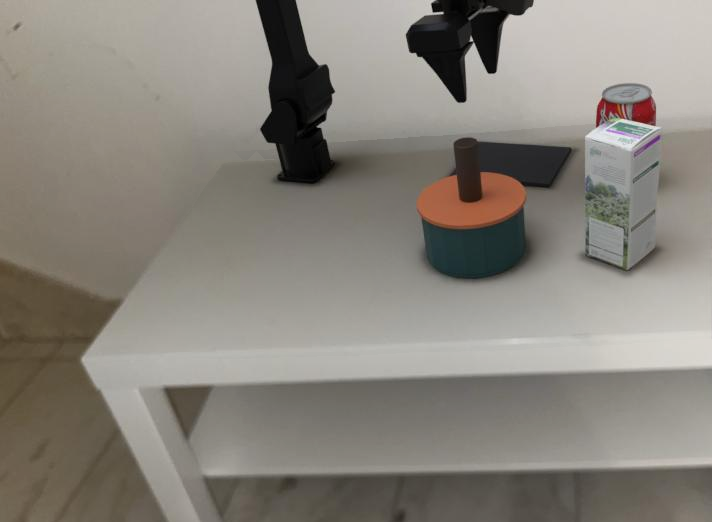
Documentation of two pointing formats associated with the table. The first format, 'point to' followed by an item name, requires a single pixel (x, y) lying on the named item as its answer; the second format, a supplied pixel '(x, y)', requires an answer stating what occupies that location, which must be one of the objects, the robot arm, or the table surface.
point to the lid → (470, 194)
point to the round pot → (476, 247)
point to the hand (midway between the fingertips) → (477, 87)
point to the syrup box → (621, 191)
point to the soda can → (627, 104)
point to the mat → (522, 161)
